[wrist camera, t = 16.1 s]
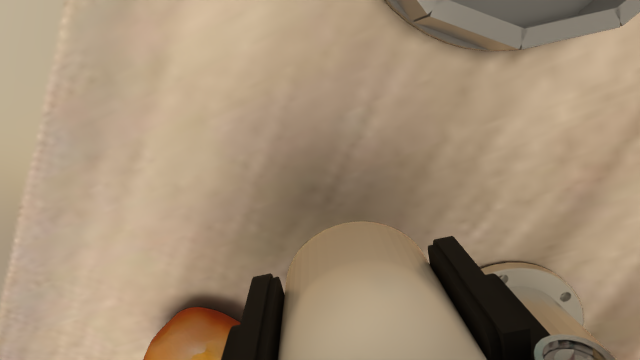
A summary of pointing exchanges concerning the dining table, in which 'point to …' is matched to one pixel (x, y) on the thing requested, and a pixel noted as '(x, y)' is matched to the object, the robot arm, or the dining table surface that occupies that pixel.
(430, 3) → the ring dish
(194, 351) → the fruit
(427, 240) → the dining table surface
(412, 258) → the cream bead
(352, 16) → the dining table surface
